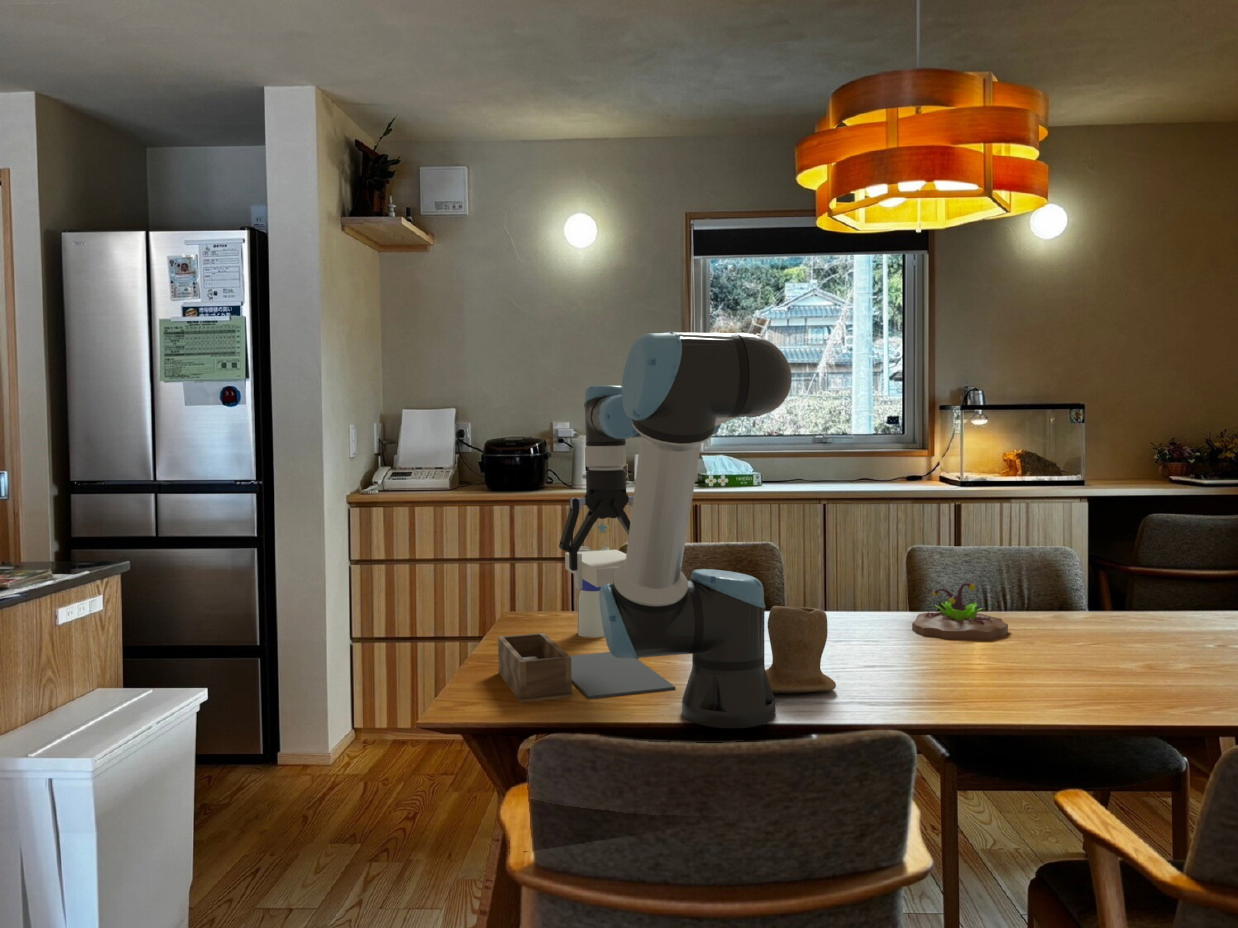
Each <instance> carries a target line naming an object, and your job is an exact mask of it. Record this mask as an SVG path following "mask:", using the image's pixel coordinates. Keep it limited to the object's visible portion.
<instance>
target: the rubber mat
mask: <svg viewBox="0 0 1238 928" xmlns="http://www.w3.org/2000/svg"><path fill="white" fill-rule="evenodd" d="M569 656H570V657H571V677H572V684H573V685H574V686H576V688H577V689H578V690H579V691H581V693H582V694H583V695H584V697H586V698H587V699H588V700H592V699H602V698H609V697H610V698H611V697H612V698H613V697H619V696H628V695H638V694H649V693H655V692H664V691H665V692H666V691H675V690H676V686H675V685H674V684H673V683H671V682H669V681H668V680H667V679H666V678H664V677H663V676H661V675H660V674H659V673H657V672H656V671H654V669H652V668H650V667H649V666H648V665H646V664H645V663H644V662H642V661H641V660H639V659H635V658H617V657H615V656H613V655H612V654H611V652H610V651H606V652H605V651H604V652H596V653H595V652H594V653H585V654H584V653H583V654H574V655H572V654H571V655H569Z"/></svg>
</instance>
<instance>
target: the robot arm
mask: <svg viewBox="0 0 1238 928" xmlns="http://www.w3.org/2000/svg"><path fill="white" fill-rule="evenodd" d="M788 361H789V360H788V359H787V357H786V355H785V354H784V353H783V352H782V351H781V349H779V347H777V346H776V345H775V344H774V343H772V342H771V341H769V340H768V339H765V338H764V337H761V336H758V335H757V334H750V333H746V332H733V333H730V332H729V333H728V332H676V331H674V330H673V331H672V330H669V331H665V332H655V333H650V332H649V333H646V334H643V335H641V336H640V337H638V338H637V340H636V341H634V343H633V344H632V346H631V347H630V349H629V352H628V354H627V357H626V361H625V365H624V368H623V374H622V381H621V385H590V386H587V387H586V389H585V390H584V392H585V393H584V394H585V396H584V403H583V406H584V420H585V421H584V422H585V423H584V425H585V466H586V468H588V469H587V470H586V471H585V489H586V490H585V492H586V493H585V494H584V497H574V496H572V497H570V499H569V501H568V502H569V510H568V514H567V518H566V521H565V525H564V528H563V531H562V534H561V538H560V541H559V544H558V548H559V549H561V550H562V551H564V552H566V553H569V568H570V570H572V571H574V574H573V575H574V588H575V589H577V590H580V589H582V554H581V553H579V552H578V550H579V549H580V547H581V546H582V545H583V544H584V541H585V540H586V538H587V536H588V535H589V533H590V531H591V530H592V527H593V526H594V524H595V523H596V522H597V521H598V519H601V520H603V519H607V518H608V519H617V520H618V521H619V523H620V524H621V526H622V528H623V529H624V531H625V532H626V534H627V535H628V538H627V539H628V540H627V546H626V553H625V554H626V562H625V563H624V564H622V565H621V566H620V567H619V568H618V569H617V570H616V572H615V574H614V579H613V584H611V585H610V584H607V585H603V586H602V587H601V588H600V592H599V601H600V612H601V619H602V625H603V630H604V635H605V637H604V639H605V642H606V646H607V648H608V650H609V652H611V654H612V655H613V656H615V657H617V658H635V659H638V660H639V659H641V658H653V657H663V656H664V657H666V656H678V655H692V658H691V659H692V660H691V661H692V664H691V665H692V666H691V670H690V673H689V676H688V681H687V683H686V686H685V689H684V694H683V696H682V700H681V715H682V716H683V718H684V719H686V720H687V721H688V722H692V723H694V724H696V725H700V726H705V727H710V728H715V729H716V728H717V729H747V728H754V727H755V728H756V727H759V726H762V725H766V724H768V722H769V723H770V722H772V721H774V719H775V718H776V717H777V714H776V713H777V712H776V710H777V708H776V707H777V705H776V703H777V702H776V698H775V696H774V693H773V692H772V689H771V686H770V683H769V680H768V677H767V674H766V671H765V670H766V667H765V609H766V604H765V595H764V594H765V593H764V586H763V584H762V581H760V580H759V579H758V578H756V577H754V576H752V575H749V574H745V573H740V572H735V571H729V570H728V571H727V570H722V569H721V570H720V569H709V568H708V569H707V568H701V569H693V570H692V572H691V574H690V577H689V578H690V579H689V580H688V579H687V577H686V575H685V574H684V573H683V571H682V565H683V560H684V551H685V547H686V540H687V534H688V527H689V521H690V514H691V508H692V503H693V502H692V501H693V498H694V497H693V496H694V490H695V484H696V477H697V472H698V464H699V459H700V451H701V446H702V444H703V443H705V442H707V441H708V440H710V439H711V438H712V437H713V436H715V435H716V434H717V433H718V432H719V429H720V428H721V425H722V424H725V423H728V422H730V421H732V420H734V419H737V418H744V417H745V418H756V417H760V416H764V415H766V414H769V413H772V412H773V411H775V410H776V409H778V408H779V407H780V406H781V405H782V404H783V403H784V402H785V400H786V399H787V398H788V396H789V394H790V390H791V387H792V376H793V375H792V371H791V366H790V363H789V362H788ZM630 438H632V439H633V438H640V442H639V451H638V456H637V457H638V458H637V466H636V473H635V480H634V481H635V482H634V490H633V495H628V493H627V471H626V469H625V468H624V467H625V466H627V453H626V452H627V451H626V444H627V443H626V440H627V439H630ZM628 503H629V505H630V506H631V515H630V519H629V516H628V514H627V512H626V511H625V510H624V509H625V507H626V506H627V505H628ZM584 505H585V506H586V507H587V508H588V512H587V513H586V515H585V519H584V520H583V522H582V524H581V525H580V527H579V528H578V531H577V532H576V534H575V535H574V537H573V534H574V531H575V529H576V524H577V521H578V518H579V515H580V510H582V508H583V506H584ZM572 538H573V539H572ZM765 723H766V724H765Z"/></svg>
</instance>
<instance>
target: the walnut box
mask: <svg viewBox="0 0 1238 928" xmlns="http://www.w3.org/2000/svg"><path fill="white" fill-rule="evenodd" d="M570 656H571V655H569V653H567V652H566V651H565V650H564V649H562V648H561V647H560V646H559V645H558V644H557V643H556V642H555V641H554V640H553V639H551V637H550V636H548V635H547V634H546V633H545V632H541V633H539V632H537V633H526V634H515V635H514V634H513V635H504V636H503V635H502V636H497V658H498V659H497V660H498V661H497V662H498V663H497V664H498V674H499V676H500V677H501V678H502V680H503V681H504V682H505V684H506V686H508V687H509V689H510V690H511V691H512V693H513V694H514V696H515V697H516V698H517V700H518V701H519V702H520V704H522V703H530V702H539V701H540V702H541V701H550V700H559V699H569V698H573V693H572V692H573V690H572V688H573V687H572V686H573V685H572V684H573V683H572V677H571V657H570Z"/></svg>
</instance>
